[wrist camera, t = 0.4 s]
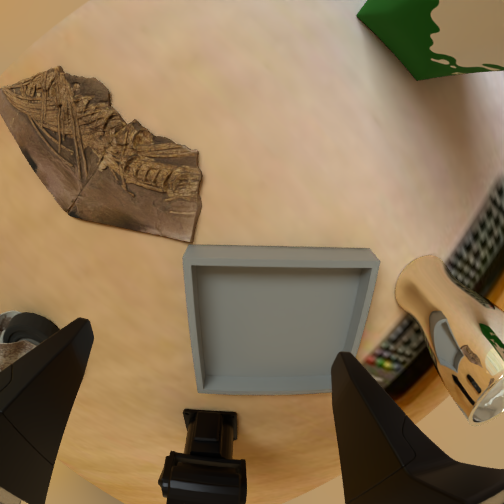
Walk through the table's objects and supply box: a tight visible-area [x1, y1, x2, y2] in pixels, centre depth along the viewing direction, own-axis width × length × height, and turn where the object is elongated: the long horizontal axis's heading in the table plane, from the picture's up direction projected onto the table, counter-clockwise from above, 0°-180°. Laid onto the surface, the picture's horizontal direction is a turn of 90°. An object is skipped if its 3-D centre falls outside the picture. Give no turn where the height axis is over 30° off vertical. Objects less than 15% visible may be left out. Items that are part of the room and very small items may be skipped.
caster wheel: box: [0, 311, 59, 372], centre depth 26 cm, size 7×11×10 cm
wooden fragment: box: [0, 66, 202, 242], centre depth 20 cm, size 26×11×1 cm, turn 50°
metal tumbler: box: [395, 255, 504, 426], centre depth 19 cm, size 7×7×15 cm
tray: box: [183, 245, 380, 395], centre depth 26 cm, size 15×15×2 cm
